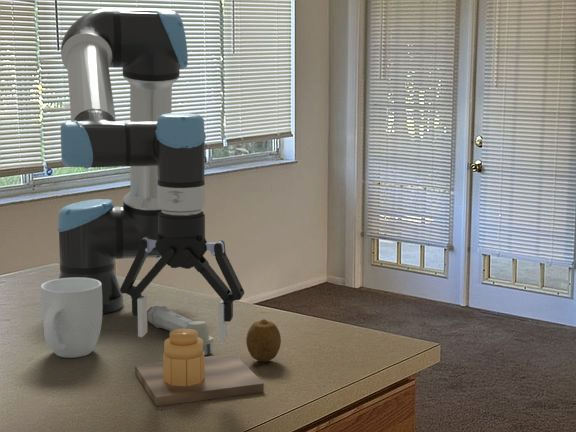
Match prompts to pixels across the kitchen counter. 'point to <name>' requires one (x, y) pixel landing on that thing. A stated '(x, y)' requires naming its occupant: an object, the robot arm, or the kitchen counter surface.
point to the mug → (71, 315)
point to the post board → (217, 383)
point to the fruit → (263, 340)
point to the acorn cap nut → (183, 358)
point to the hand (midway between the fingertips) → (182, 337)
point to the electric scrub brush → (179, 324)
